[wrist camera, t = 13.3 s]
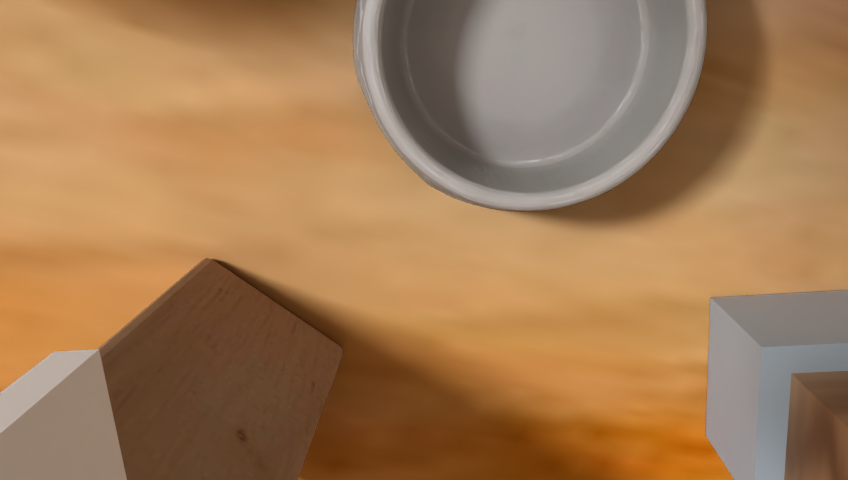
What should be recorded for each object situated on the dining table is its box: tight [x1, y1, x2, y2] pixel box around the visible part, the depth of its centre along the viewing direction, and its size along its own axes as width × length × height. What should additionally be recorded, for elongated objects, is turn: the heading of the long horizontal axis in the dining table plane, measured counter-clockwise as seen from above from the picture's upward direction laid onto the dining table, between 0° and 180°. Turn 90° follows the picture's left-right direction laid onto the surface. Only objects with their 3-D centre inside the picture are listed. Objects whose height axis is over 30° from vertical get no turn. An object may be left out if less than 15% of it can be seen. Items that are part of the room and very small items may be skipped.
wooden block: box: [98, 258, 343, 480], centre depth 33 cm, size 10×10×20 cm
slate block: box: [706, 290, 848, 480], centre depth 38 cm, size 9×9×7 cm
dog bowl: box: [353, 0, 707, 211], centre depth 35 cm, size 17×18×5 cm
